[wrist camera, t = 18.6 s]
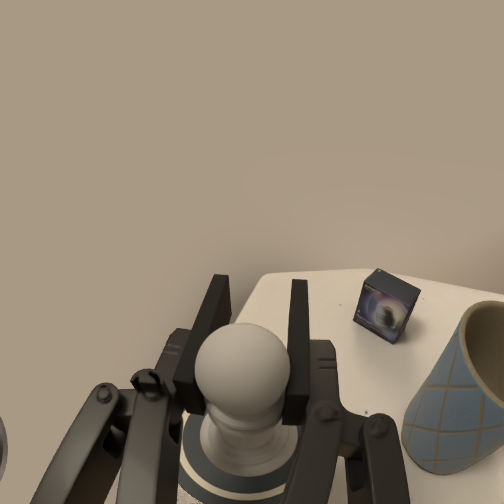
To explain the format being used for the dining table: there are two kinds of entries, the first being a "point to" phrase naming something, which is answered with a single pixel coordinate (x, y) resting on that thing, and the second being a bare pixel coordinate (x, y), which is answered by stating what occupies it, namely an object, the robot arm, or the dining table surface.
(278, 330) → the dining table surface
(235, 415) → the chess piece
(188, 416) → the slate board
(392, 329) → the small box
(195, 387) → the robot arm
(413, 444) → the planter
